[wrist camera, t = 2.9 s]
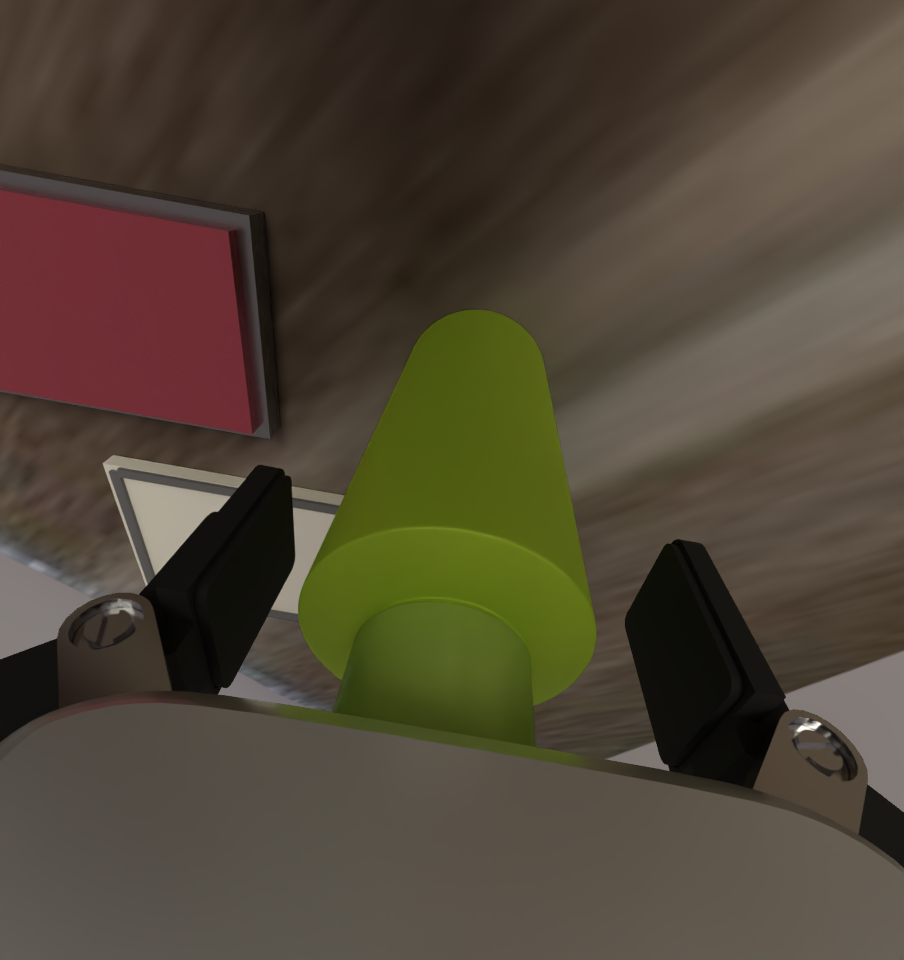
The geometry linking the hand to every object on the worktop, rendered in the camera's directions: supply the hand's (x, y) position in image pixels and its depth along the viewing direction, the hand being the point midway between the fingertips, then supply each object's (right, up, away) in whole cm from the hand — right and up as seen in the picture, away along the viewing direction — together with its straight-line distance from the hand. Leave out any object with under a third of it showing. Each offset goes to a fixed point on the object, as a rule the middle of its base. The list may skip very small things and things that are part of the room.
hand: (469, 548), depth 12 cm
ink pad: (-15, +9, +8) cm, 19 cm away
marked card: (-12, -2, +15) cm, 19 cm away
